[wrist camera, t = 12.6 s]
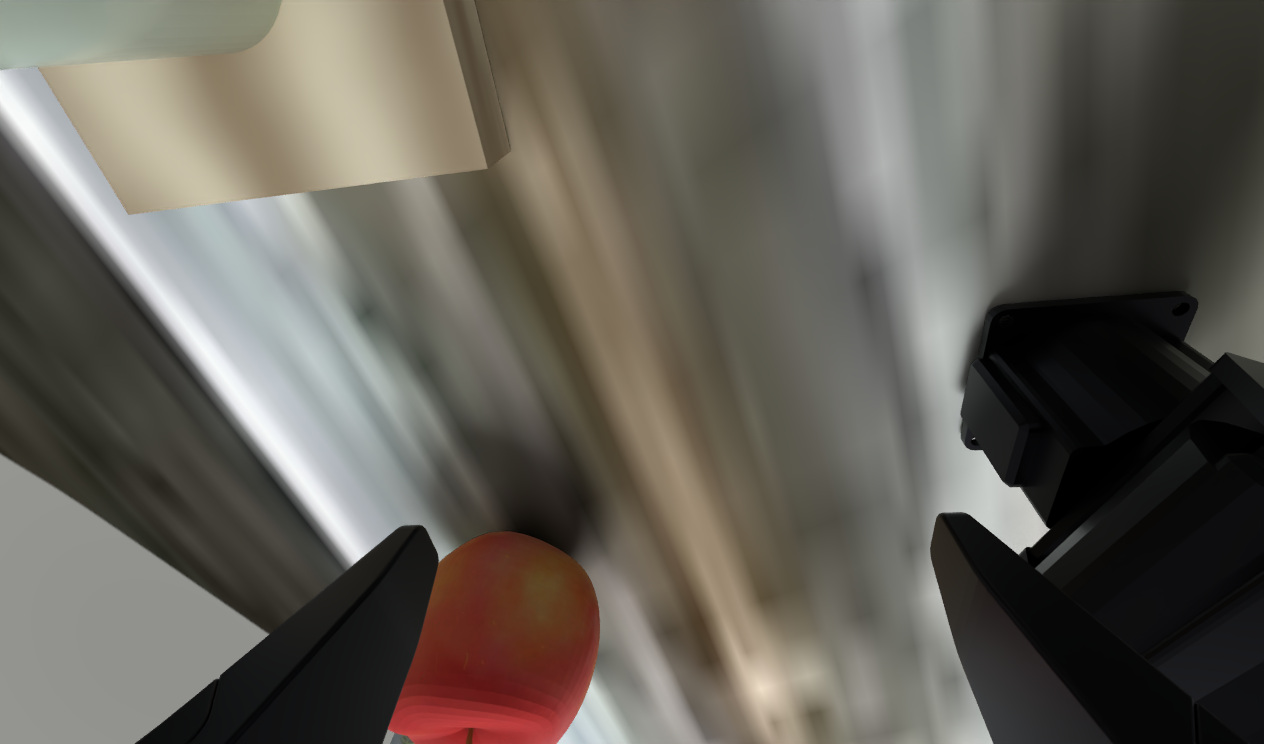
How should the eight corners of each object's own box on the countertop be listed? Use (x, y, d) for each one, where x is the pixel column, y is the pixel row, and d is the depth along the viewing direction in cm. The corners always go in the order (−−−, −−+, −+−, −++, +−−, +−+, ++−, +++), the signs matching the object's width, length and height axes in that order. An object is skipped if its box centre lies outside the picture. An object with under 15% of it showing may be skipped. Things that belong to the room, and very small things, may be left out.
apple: (405, 531, 31) (296, 726, 23) (532, 462, 27) (457, 665, 19) (523, 625, 35) (467, 822, 26) (649, 575, 31) (630, 787, 23)
